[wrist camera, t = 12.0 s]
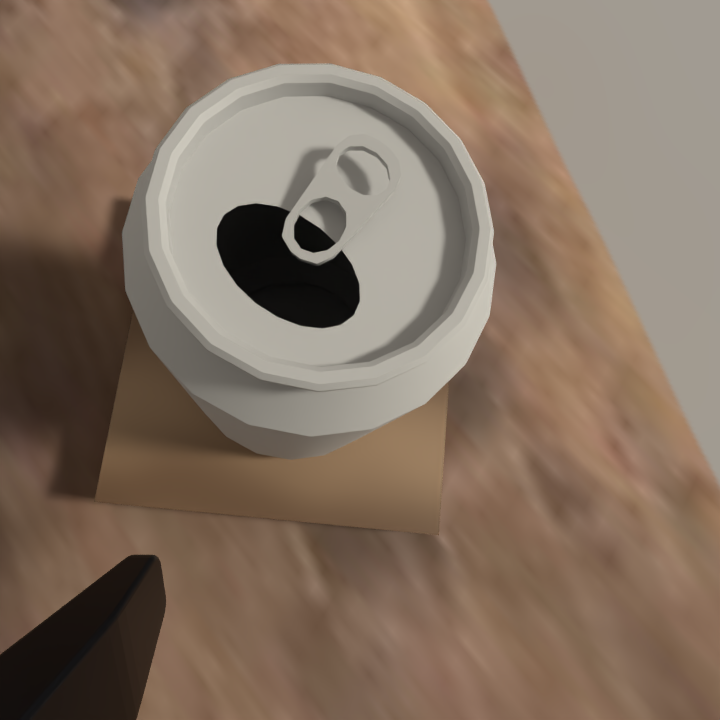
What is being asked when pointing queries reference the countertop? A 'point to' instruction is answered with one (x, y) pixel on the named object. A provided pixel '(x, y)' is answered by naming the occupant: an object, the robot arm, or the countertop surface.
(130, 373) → the tan board
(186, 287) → the can
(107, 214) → the countertop surface
